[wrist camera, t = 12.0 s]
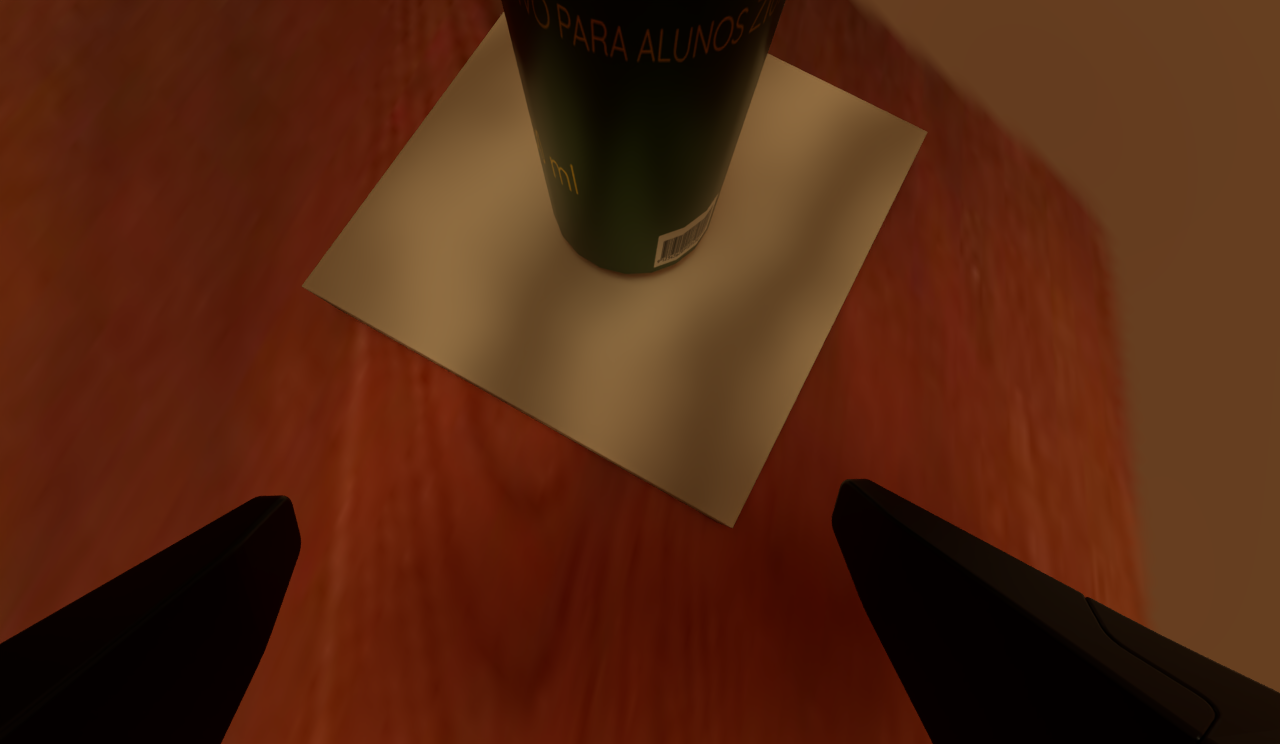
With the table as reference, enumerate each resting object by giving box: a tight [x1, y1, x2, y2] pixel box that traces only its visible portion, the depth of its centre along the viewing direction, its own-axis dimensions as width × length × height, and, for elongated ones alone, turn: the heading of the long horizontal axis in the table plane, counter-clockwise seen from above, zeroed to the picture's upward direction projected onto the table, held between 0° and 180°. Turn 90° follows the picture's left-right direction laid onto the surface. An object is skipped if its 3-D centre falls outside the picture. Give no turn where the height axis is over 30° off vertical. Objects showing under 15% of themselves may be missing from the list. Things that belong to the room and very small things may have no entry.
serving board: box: [302, 13, 927, 528], centre depth 20 cm, size 16×16×2 cm
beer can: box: [501, 0, 785, 274], centre depth 13 cm, size 5×5×12 cm
